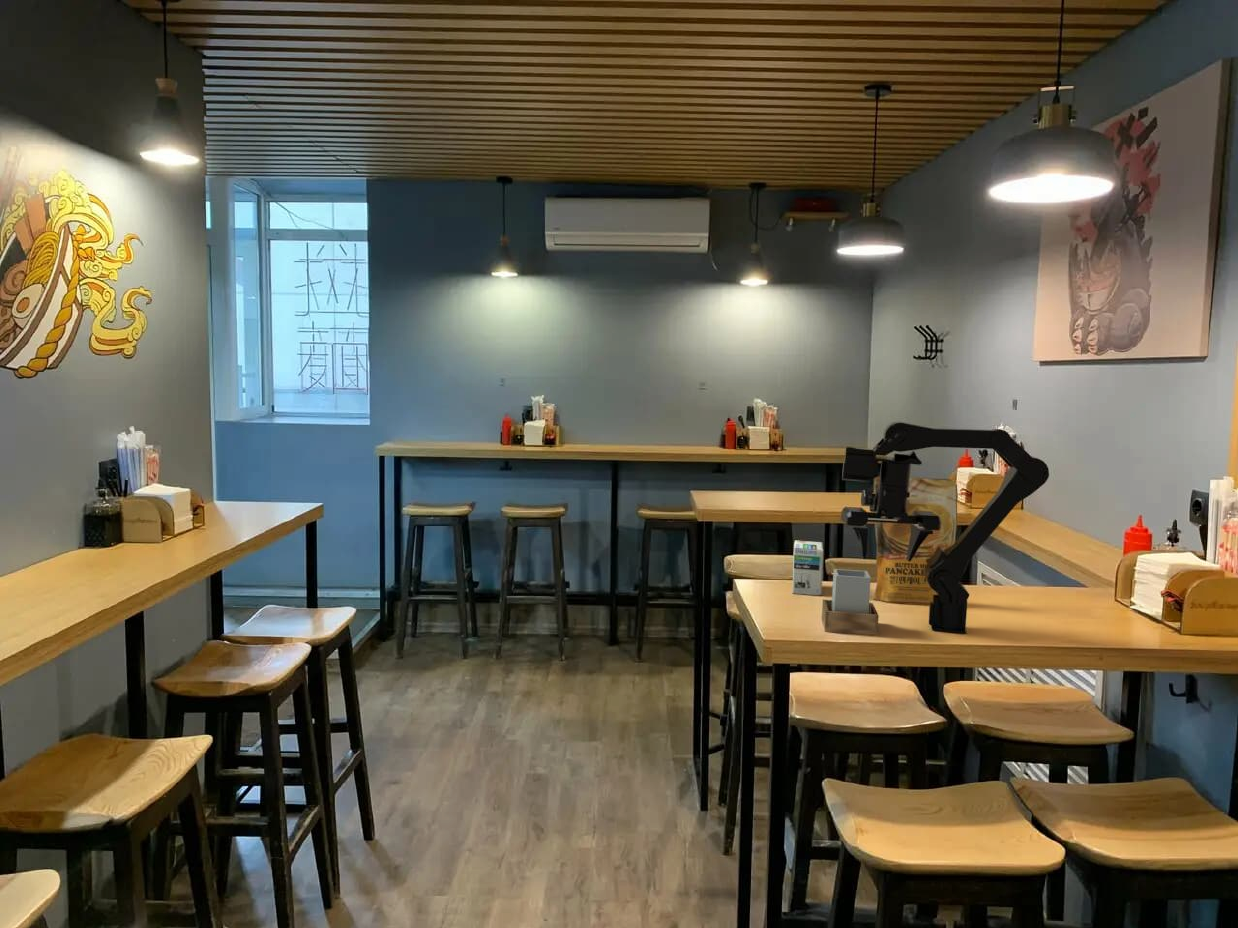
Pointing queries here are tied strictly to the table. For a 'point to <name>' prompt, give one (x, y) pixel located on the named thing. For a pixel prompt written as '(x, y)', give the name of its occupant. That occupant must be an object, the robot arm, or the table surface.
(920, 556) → the pancake mix bag
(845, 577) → the grey crate
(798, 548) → the light bulb box
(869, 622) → the walnut crate
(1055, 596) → the table surface
